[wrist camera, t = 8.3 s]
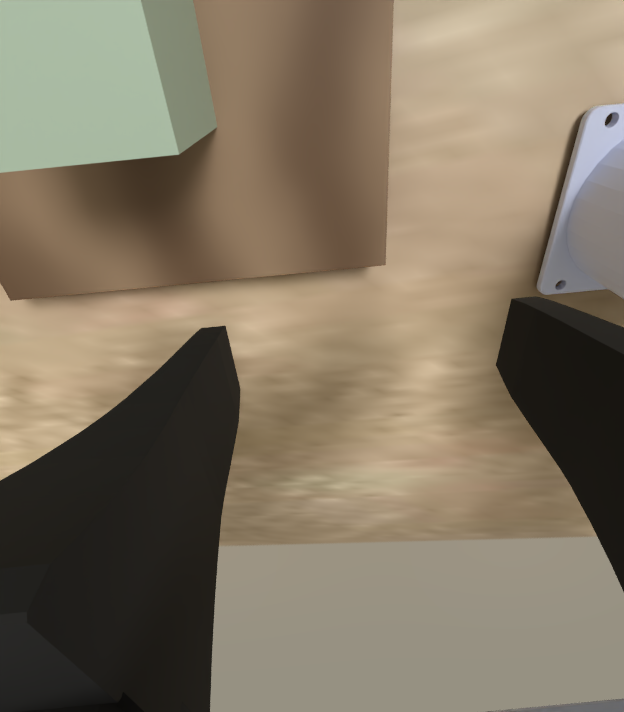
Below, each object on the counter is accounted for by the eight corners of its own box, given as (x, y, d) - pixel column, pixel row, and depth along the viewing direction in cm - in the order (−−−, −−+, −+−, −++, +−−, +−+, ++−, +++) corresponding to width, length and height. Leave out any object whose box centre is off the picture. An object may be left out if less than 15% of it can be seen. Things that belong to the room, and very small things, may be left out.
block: (186, -34, 11) (111, -118, 6) (217, 126, 14) (179, 154, 9) (47, -19, 11) (-133, -93, 6) (101, 138, 14) (-1, 172, 9)
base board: (387, -412, 9) (409, -516, 8) (376, 248, 19) (385, 265, 17) (-291, -348, 9) (-412, -438, 8) (35, 280, 19) (10, 300, 17)
